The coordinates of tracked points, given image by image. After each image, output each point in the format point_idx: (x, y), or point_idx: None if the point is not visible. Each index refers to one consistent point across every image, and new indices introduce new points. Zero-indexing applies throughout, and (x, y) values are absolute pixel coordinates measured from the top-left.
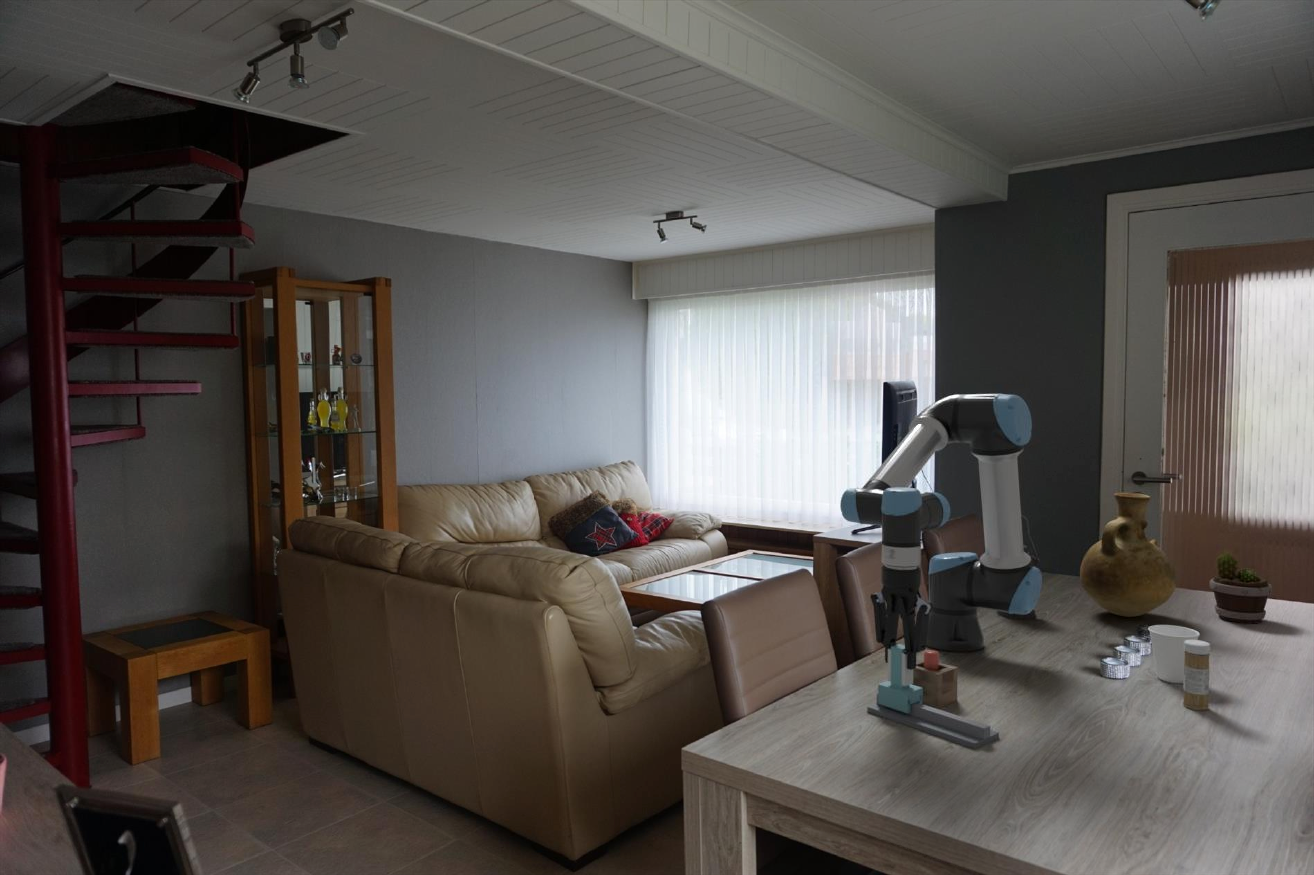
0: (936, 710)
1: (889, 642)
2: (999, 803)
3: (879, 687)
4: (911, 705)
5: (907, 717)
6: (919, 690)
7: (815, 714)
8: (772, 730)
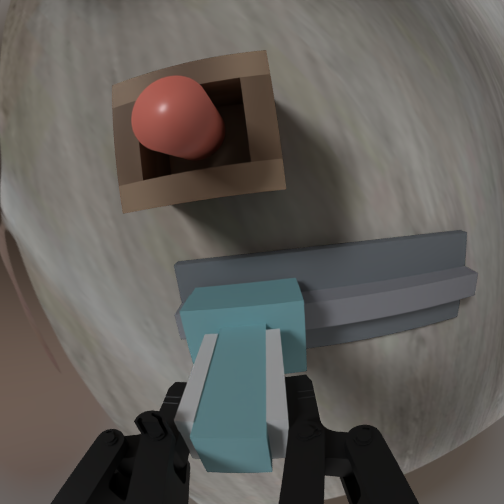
0: (366, 305)
1: (187, 477)
2: (492, 386)
3: None
4: None
5: None
6: (304, 315)
7: None
8: (198, 471)
